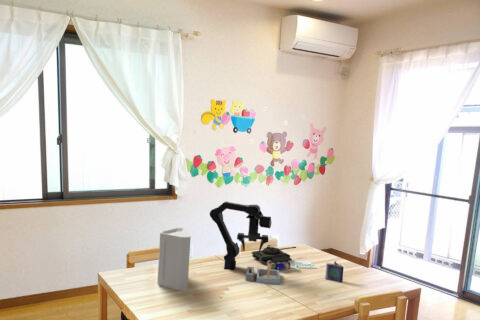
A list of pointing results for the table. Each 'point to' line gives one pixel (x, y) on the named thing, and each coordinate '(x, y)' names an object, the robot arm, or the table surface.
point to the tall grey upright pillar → (174, 258)
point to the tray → (268, 280)
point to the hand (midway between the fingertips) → (251, 251)
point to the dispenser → (250, 274)
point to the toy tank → (269, 253)
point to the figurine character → (285, 263)
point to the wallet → (334, 272)
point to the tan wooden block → (268, 270)
